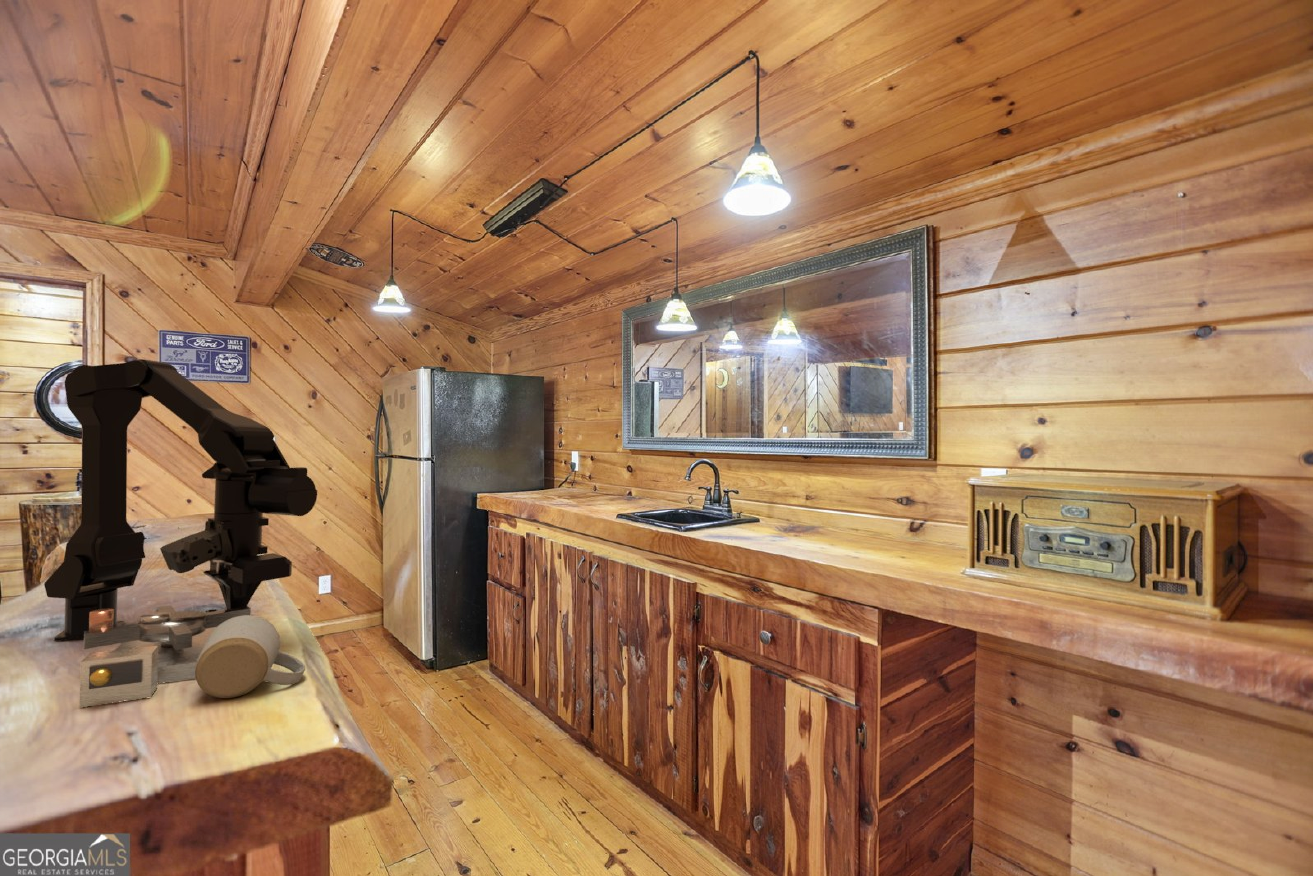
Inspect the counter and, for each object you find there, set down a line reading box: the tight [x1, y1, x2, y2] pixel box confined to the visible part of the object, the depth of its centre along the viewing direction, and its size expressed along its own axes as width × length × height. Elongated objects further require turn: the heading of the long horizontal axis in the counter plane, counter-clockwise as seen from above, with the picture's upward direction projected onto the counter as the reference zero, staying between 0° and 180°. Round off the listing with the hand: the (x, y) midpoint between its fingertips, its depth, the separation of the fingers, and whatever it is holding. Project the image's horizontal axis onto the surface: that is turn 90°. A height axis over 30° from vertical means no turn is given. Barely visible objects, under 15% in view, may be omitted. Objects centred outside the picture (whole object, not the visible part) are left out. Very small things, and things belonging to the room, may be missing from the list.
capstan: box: [83, 605, 252, 650], centre depth 79 cm, size 17×17×4 cm
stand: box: [78, 627, 217, 709], centre depth 77 cm, size 24×12×5 cm, turn 29°
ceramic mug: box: [195, 614, 306, 699], centre depth 72 cm, size 11×8×8 cm
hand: (234, 619), depth 86 cm, fingers closed
